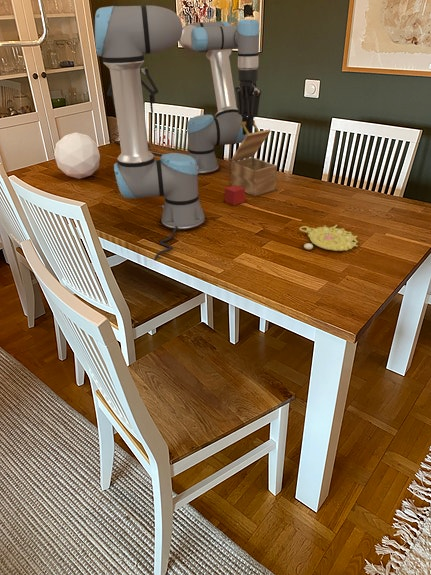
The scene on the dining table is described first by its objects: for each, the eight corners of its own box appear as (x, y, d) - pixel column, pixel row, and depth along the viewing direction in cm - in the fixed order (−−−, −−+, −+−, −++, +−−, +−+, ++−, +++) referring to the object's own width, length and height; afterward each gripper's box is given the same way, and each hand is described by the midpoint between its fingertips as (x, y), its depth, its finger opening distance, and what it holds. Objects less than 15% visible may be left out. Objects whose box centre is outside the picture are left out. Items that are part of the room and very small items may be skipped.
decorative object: (343, 255, 128) (285, 234, 139) (342, 262, 130) (284, 241, 140) (372, 230, 142) (317, 213, 152) (371, 237, 143) (316, 219, 153)
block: (244, 201, 171) (244, 188, 168) (234, 205, 168) (234, 191, 165) (235, 198, 174) (235, 184, 171) (225, 201, 171) (224, 187, 169)
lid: (270, 131, 172) (261, 114, 173) (248, 136, 166) (238, 118, 168) (253, 156, 185) (244, 140, 187) (231, 161, 180) (222, 145, 182)
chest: (275, 190, 180) (276, 165, 175) (254, 196, 175) (254, 171, 170) (252, 180, 191) (252, 157, 186) (231, 185, 186) (231, 162, 181)
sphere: (87, 194, 201) (71, 168, 182) (55, 173, 206) (37, 145, 187) (114, 165, 206) (102, 136, 187) (82, 145, 210) (67, 115, 192)
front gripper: (160, 52, 174) (165, 109, 185) (95, 55, 171) (104, 113, 182) (161, 54, 167) (166, 113, 179) (94, 56, 165) (103, 116, 176)
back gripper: (268, 69, 159) (266, 136, 172) (244, 66, 169) (243, 129, 182) (252, 71, 156) (251, 139, 168) (228, 68, 166) (229, 132, 178)
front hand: (135, 113), depth 181 cm, fingers open, 13 cm apart
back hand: (247, 134), depth 175 cm, fingers closed on lid, 1 cm apart
